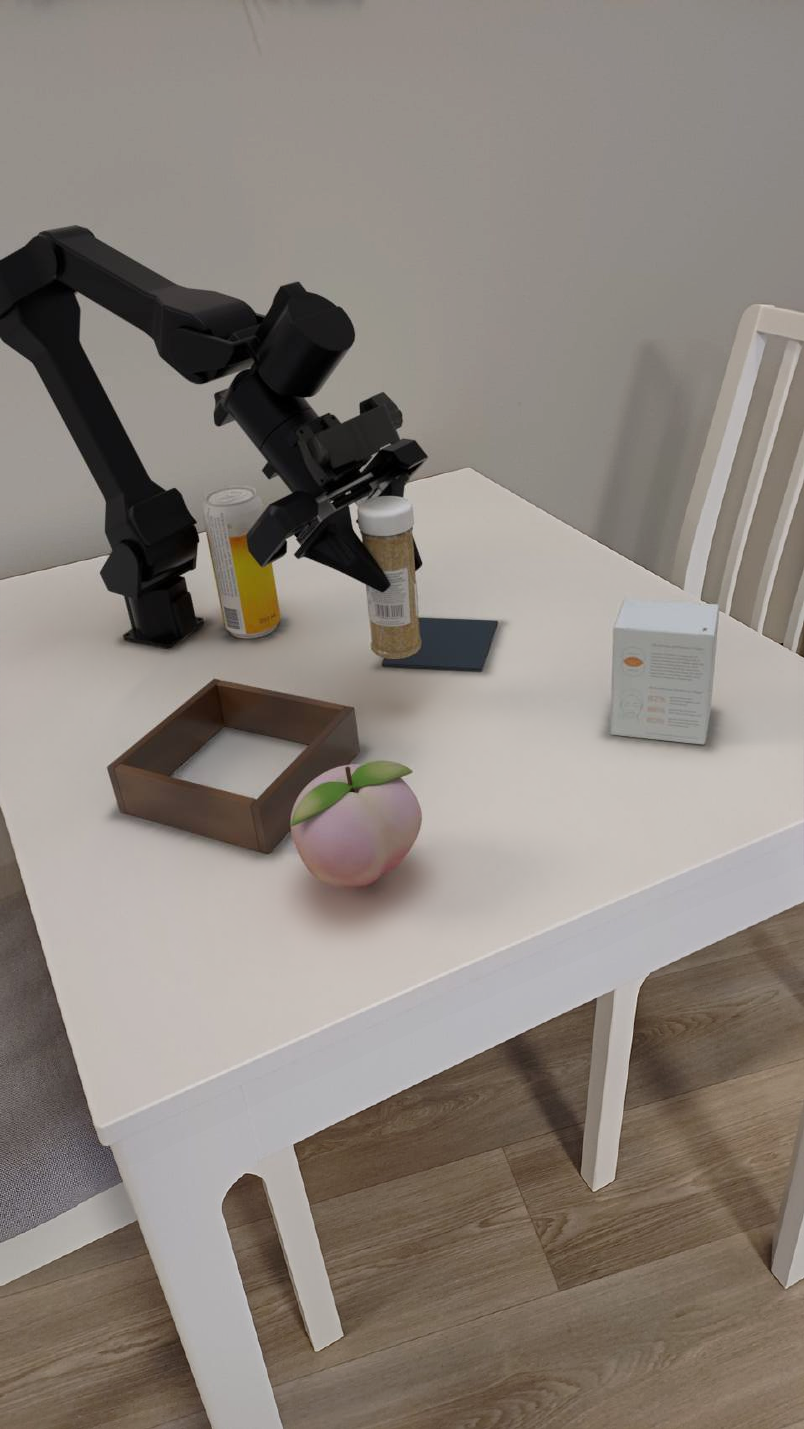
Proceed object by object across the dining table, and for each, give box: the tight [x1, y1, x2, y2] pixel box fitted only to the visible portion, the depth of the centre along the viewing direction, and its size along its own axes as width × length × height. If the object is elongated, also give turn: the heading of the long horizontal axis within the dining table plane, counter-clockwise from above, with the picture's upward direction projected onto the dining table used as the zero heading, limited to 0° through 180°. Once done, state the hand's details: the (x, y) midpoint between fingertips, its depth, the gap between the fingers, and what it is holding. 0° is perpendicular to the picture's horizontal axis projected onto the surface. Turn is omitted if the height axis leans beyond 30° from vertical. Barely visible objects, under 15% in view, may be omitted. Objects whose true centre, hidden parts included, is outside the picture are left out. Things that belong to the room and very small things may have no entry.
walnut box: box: [106, 678, 361, 855], centre depth 82 cm, size 15×15×4 cm
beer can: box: [201, 485, 282, 640], centre depth 103 cm, size 6×6×15 cm
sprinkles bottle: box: [356, 496, 421, 659], centre depth 84 cm, size 5×5×14 cm
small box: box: [609, 597, 720, 745], centre depth 83 cm, size 8×6×10 cm
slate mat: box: [381, 616, 499, 673], centre depth 101 cm, size 10×10×1 cm
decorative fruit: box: [290, 760, 423, 888], centre depth 69 cm, size 9×8×10 cm
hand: (403, 578), depth 83 cm, fingers closed on sprinkles bottle, 4 cm apart
